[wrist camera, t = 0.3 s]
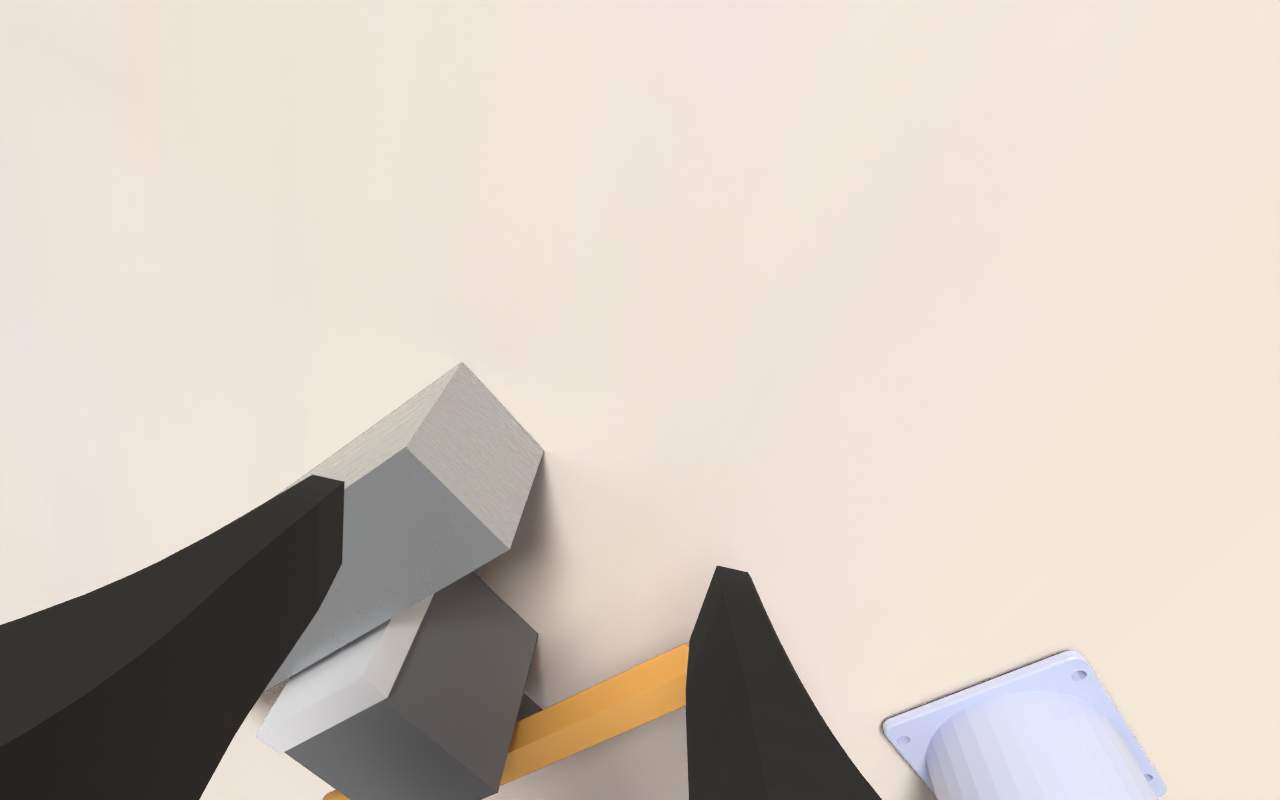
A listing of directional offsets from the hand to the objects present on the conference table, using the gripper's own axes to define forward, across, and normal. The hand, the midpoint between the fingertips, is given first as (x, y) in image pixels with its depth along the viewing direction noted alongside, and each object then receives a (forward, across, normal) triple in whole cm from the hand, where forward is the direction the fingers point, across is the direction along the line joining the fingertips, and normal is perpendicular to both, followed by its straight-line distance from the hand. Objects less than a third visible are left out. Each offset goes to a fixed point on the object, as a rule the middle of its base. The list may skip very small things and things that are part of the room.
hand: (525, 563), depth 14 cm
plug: (+10, +3, +13) cm, 16 cm away
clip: (+6, 0, +15) cm, 16 cm away
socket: (+10, +8, +9) cm, 15 cm away
